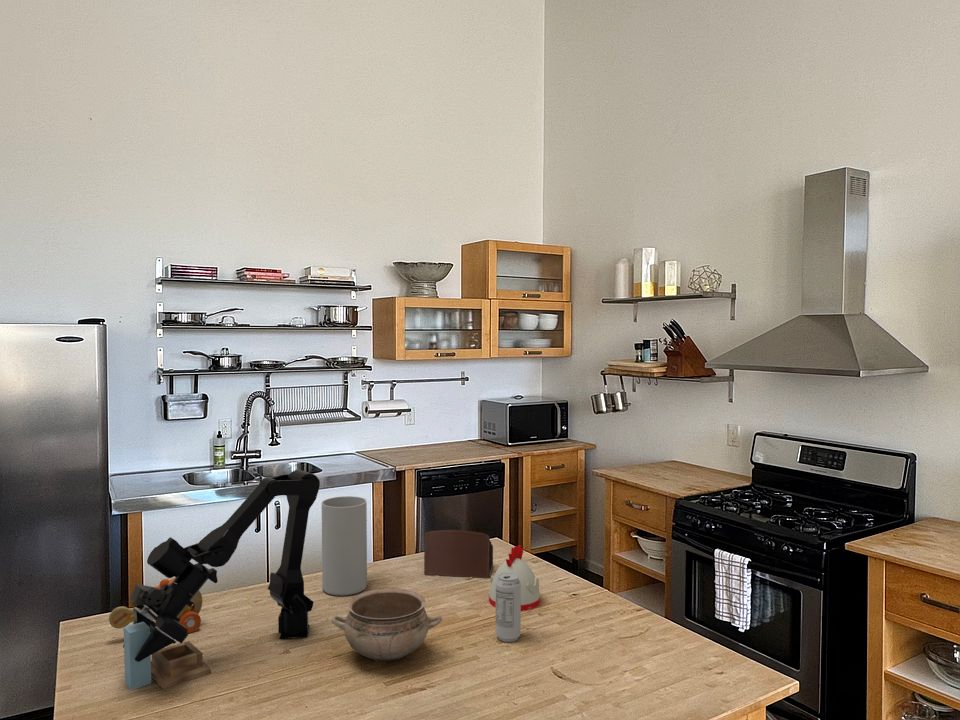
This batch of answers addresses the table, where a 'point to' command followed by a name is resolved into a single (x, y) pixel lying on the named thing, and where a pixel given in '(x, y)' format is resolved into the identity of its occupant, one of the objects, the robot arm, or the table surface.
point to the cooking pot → (386, 623)
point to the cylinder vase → (344, 545)
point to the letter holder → (458, 554)
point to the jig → (178, 664)
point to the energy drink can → (508, 607)
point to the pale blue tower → (135, 671)
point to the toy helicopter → (126, 615)
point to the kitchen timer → (525, 576)
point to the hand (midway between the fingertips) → (130, 654)
